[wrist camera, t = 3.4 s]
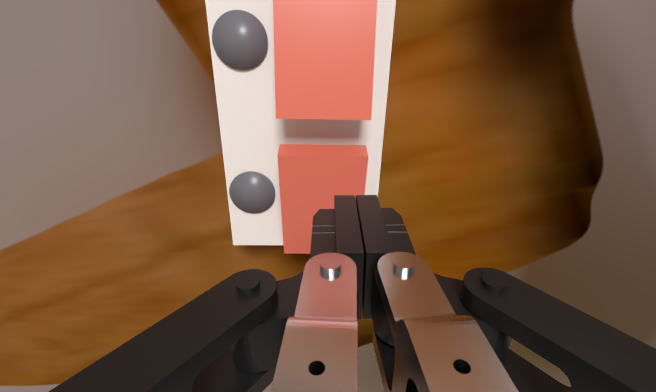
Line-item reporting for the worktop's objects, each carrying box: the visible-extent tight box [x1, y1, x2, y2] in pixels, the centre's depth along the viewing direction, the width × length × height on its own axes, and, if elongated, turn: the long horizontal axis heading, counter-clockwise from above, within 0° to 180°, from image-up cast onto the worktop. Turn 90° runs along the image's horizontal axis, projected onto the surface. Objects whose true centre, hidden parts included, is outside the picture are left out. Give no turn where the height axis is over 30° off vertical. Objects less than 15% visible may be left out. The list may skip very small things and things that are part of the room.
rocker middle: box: [273, 0, 377, 120], centre depth 21 cm, size 6×9×2 cm, turn 179°
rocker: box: [277, 144, 368, 254], centre depth 26 cm, size 6×9×2 cm, turn 179°
